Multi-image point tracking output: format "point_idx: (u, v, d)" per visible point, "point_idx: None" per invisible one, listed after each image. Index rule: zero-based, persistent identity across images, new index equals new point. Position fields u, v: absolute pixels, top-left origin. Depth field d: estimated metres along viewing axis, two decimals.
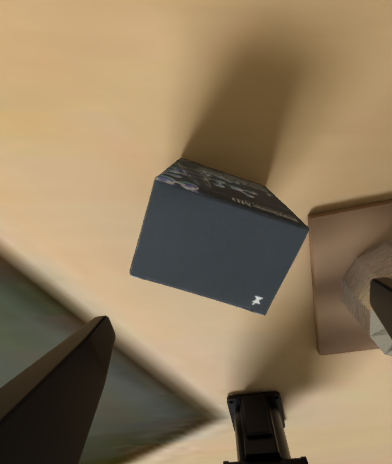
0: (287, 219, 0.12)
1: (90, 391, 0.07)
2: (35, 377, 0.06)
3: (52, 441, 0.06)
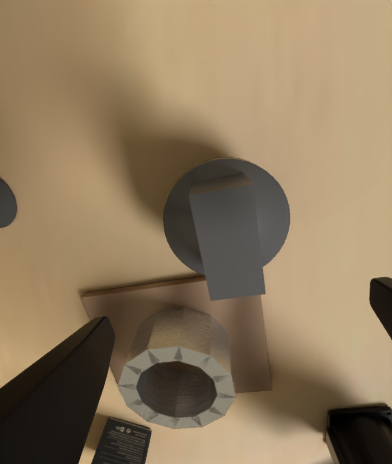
0: None
1: (90, 391, 0.07)
2: (35, 377, 0.06)
3: (52, 441, 0.06)
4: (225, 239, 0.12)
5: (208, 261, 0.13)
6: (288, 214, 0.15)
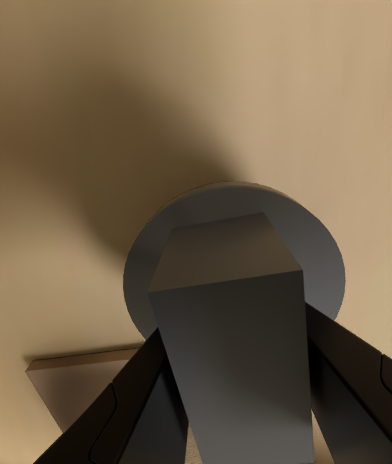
0: None
1: None
2: (149, 364, 0.06)
3: (170, 432, 0.06)
4: (234, 375, 0.06)
5: (198, 410, 0.06)
6: (342, 282, 0.09)
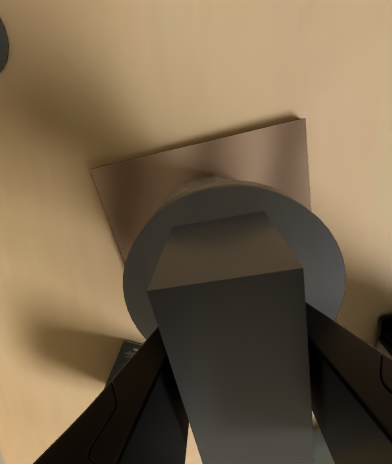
0: None
1: None
2: (149, 364, 0.06)
3: (170, 432, 0.06)
4: (234, 374, 0.06)
5: (197, 409, 0.06)
6: (342, 281, 0.09)
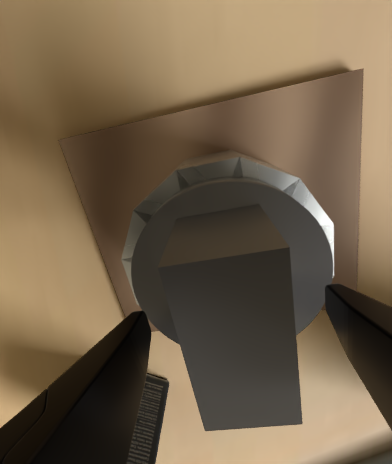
0: None
1: (134, 387, 0.07)
2: (87, 371, 0.06)
3: (106, 437, 0.06)
4: (231, 342, 0.07)
5: (199, 375, 0.07)
6: (330, 268, 0.10)
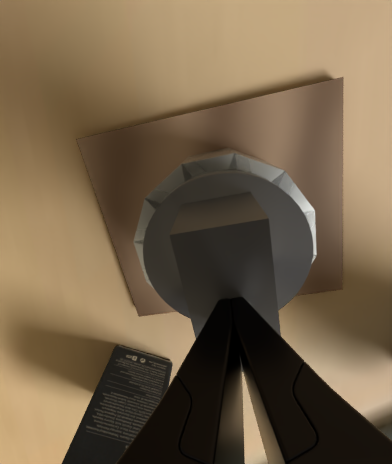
0: None
1: (239, 376, 0.07)
2: (212, 357, 0.06)
3: (236, 427, 0.05)
4: (226, 296, 0.08)
5: (201, 325, 0.09)
6: (311, 246, 0.11)
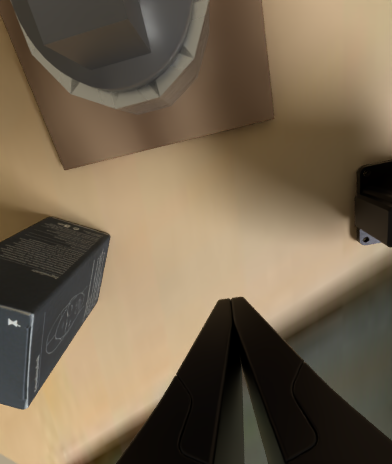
0: None
1: (239, 376, 0.07)
2: (212, 357, 0.06)
3: (235, 427, 0.05)
4: None
5: None
6: None
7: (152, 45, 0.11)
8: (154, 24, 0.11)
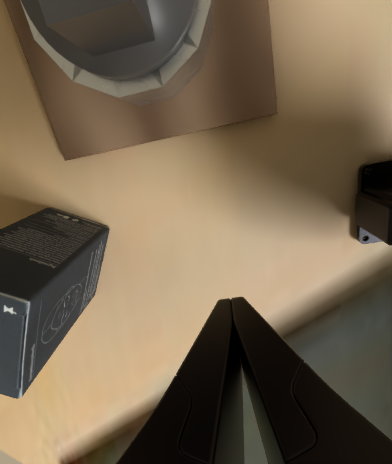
0: None
1: (239, 376, 0.07)
2: (212, 357, 0.06)
3: (235, 427, 0.05)
4: None
5: None
6: None
7: (156, 32, 0.11)
8: (159, 11, 0.11)
